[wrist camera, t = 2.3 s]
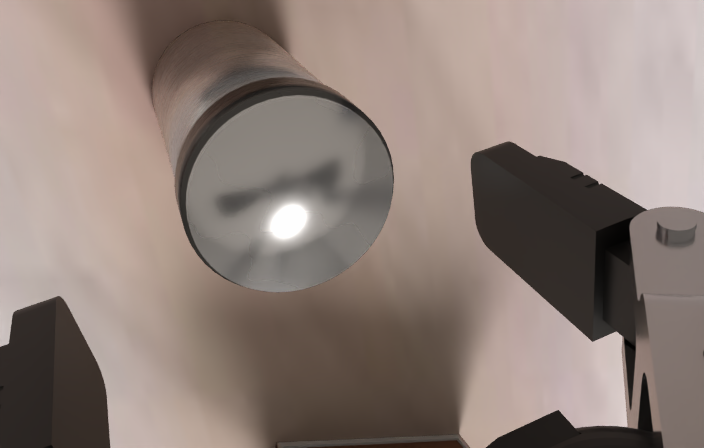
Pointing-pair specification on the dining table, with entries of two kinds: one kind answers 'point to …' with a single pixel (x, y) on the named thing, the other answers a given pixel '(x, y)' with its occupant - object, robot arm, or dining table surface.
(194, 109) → the steel fitting
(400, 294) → the dining table surface
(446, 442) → the food container
